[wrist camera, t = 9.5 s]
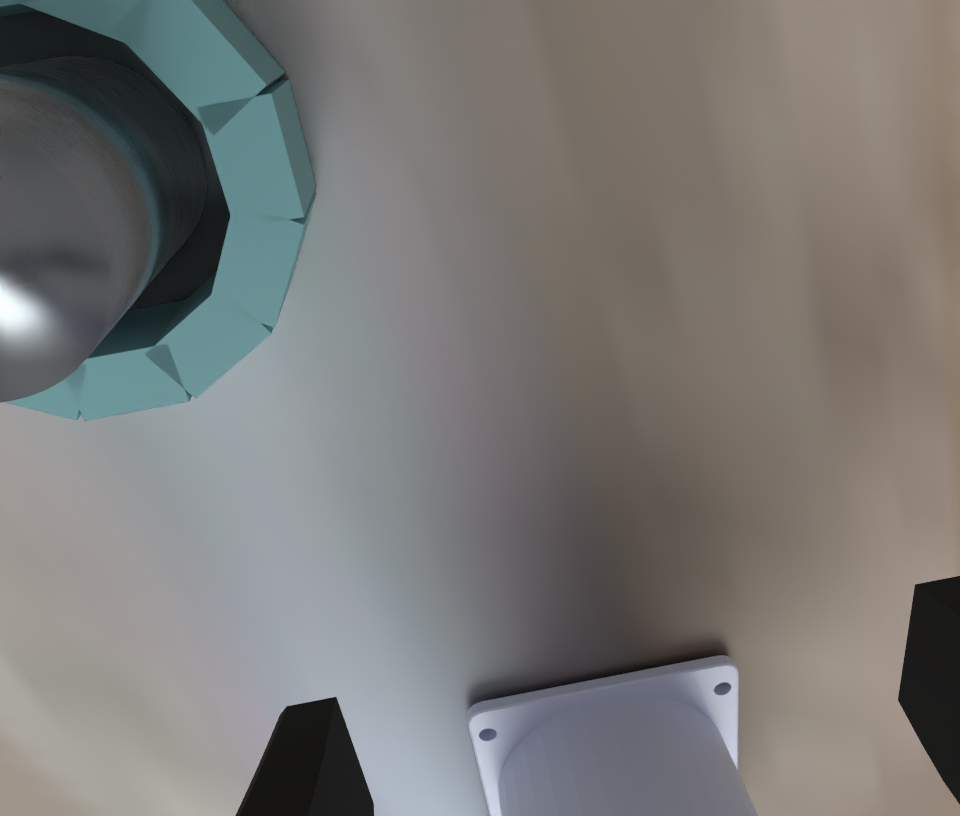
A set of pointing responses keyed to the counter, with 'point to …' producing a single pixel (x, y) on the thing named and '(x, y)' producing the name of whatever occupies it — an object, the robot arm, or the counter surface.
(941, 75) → the counter surface
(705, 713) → the robot arm
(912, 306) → the counter surface
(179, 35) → the teal bead ring
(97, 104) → the steel peg
